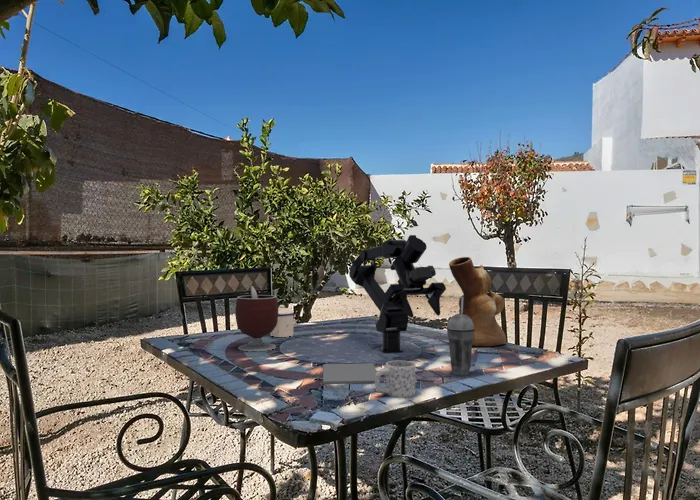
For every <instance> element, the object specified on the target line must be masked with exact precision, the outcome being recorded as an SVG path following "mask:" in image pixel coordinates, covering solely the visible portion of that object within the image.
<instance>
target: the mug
mask: <svg viewBox="0 0 700 500" xmlns="http://www.w3.org/2000/svg"><path fill="white" fill-rule="evenodd" d="M382 375H385V386H384V387H381V385H380V384H381V383H380V380H381V376H382ZM374 387H375V390H376V392H377V393H380V394H381V393H383V394H386V395H387V396H390V397H395V398H410V397H414V396H415V395H416V362H413V361H409V360H403V359H402V360H400V359H399V360H397V359H396V360H389V361H387V362H385V368H383V369H380V370H378V371H377V372H376V376H375V383H374ZM413 395H414V396H413Z"/></svg>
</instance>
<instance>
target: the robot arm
mask: <svg viewBox="0 0 700 500" xmlns="http://www.w3.org/2000/svg"><path fill="white" fill-rule="evenodd" d="M426 250H427V243H426V242H424V240H422V239H420V238H419V237H417V236H416V234H409V236H408V237H407V240H405V239H386V240H385V241H383V242H382V243H381V245H379V246H375V247H371V248H367V249H366V248H363V249H361V250H360V251H359V252H360V253H359V255H358V256H357V257H356V258H355V259H354V260H353V261H352V263H351V266H350V268H349V271H348V275H349V278H350V280H351V281H352V282H353V283H354V284H355V285H358V286H359V287H362V288H363V289H364V291H365V292H366V293H367V295H368V297H369V298H370V299H371V300H372V302H373V303H374V305H375V306H376V308H377V309H378V310H379V318H378V319H377V322H376V323H375V329H376V331H377V332H379V333H382V346H380V350H381V352H383V353H402V352H403V353H404V350H403V348H402V347H401V332H406V331H407V329H408V325H409V321H410V320H409V319H410V318H411V319H412V318H414V311H413V309H412V307H411V305H410V302H409V299H408V296H425V298H426V299H427V301H426V302H427V303H428V305H429V306H430V307H431V309H432V310H433V312H434V313H435V315H436V316H438V317H440V315H441V303H440V300H441V296H442V295H443V293H445V292H446V290H447V287H446V285H445V283H444V282H441V281H439V282H431V283H430V285H429V286H428V287H424V286H426V285H427V280H429V279H433V277H435V276H436V274H437V272H436V269H435V267H434V266H433V265H427V266H420V267H419V266H417V267H415V265H414V264H416V263H418V262H419V260H420V258H422V256H423V254H424V253H425V252H426ZM384 258H387V259H393V261H392V262H391V266H390V271H395V272H396V275H397V277H398V280H397V283H393V284H392V283H391V284H389V287H388V288H387V290H386V291H384V289H383V288H382V287H381V286H380V285H379V283H378V281H377V280H376V279H375V276H376V271H377V263H376V260H380V259H384ZM365 261H366V262H368V261H369V262H370V261H371V263H370V265H369V264H367V265H366V264H364V263H365Z"/></svg>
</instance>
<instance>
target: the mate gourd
mask: <svg viewBox="0 0 700 500" xmlns="http://www.w3.org/2000/svg"><path fill="white" fill-rule="evenodd" d="M250 289H251V290H250V294H248V295H240V296H237V298H236V302H235V312H234V313H235V321H236V322H235V323H236V326H237V328H238V329H239V331H240V332H241V334H244V335H246V336H248V337H250V338H252V340H251V343H247V344H246V343H245V344H241V345H239V346H238V347H237V350H238V349H240V350H243V351H266V352H268V351H267V350H271V351H273V350H272V349H274V350H275V348H276V349H277V345H276V344H273V343H269V342H268V343H267V342H263V339H262V338H263V337H265V336H267V335H269V334H270V333H271V332H272V331H273V330H274V328H275V327H276V325H277V320H278V308H279V302H278V299H277V298H278V296H277V295H271V294H257V291H256V288H254V286H253V285H252V286H250Z"/></svg>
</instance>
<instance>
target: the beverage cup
mask: <svg viewBox="0 0 700 500" xmlns="http://www.w3.org/2000/svg"><path fill="white" fill-rule="evenodd" d="M463 298H464V297H462V300H461V314H459V313H456V314H454V315H452V316H451V317H450V318H449V320H448V322H447V326H446V330H447V331H446V333H447V337H448V345H449V356H450V367H451V374H452V373H453V375H454V374H455V375H456V376H469V375H470V371H471V365H472V364H471V362H472V351H473V350H472V349H473V346H472V341H473V336H474V331H475V329H474V324H473V322H472V320H471V319H470V317H468V316H467V315H465V314H463Z"/></svg>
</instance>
